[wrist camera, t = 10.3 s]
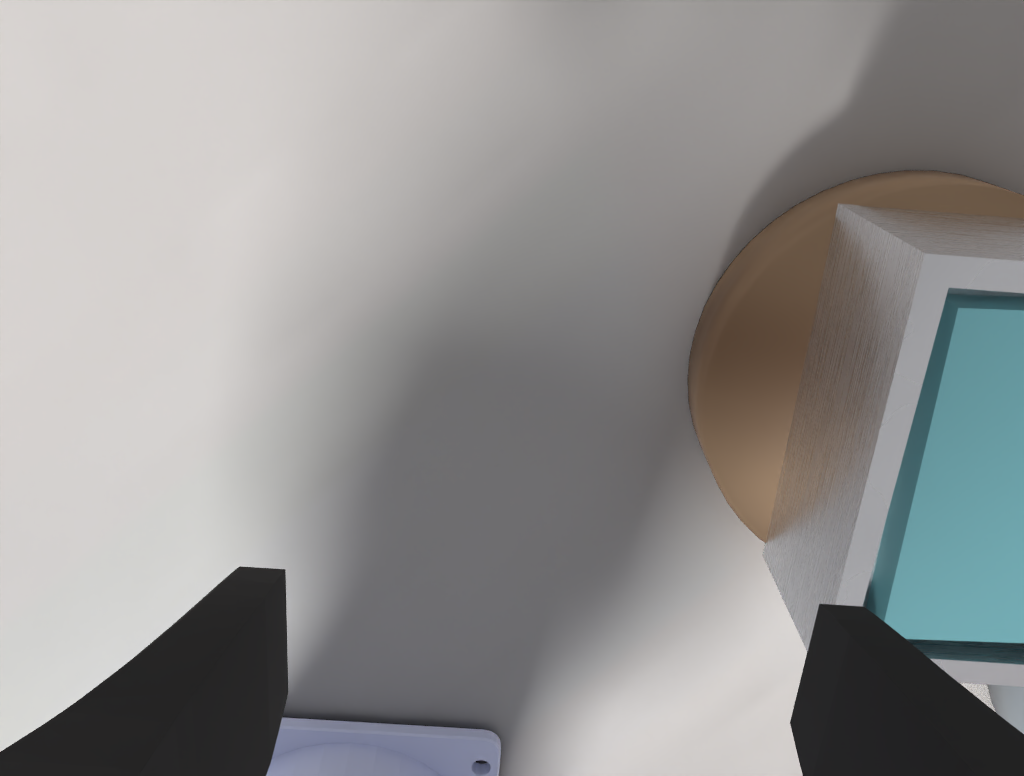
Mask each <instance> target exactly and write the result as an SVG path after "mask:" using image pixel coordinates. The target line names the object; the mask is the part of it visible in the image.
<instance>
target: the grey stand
mask: <svg viewBox="0 0 1024 776" xmlns="http://www.w3.org/2000/svg"><path fill="white" fill-rule="evenodd" d="M988 689H989V693H990V697H991V701H992V704H993V706H994V708H995V710H996V713H997V714H998V715H1000V716H1001V717H1002V718H1003V719H1005V720H1006V721H1007V722H1009V723H1010V724H1011V725H1013V726H1014V727H1015V728H1016V729H1018V730H1019V731H1020V732H1022V733H1023V734H1024V687H1018V686H1003V685H988Z"/></svg>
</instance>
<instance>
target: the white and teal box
mask: <svg viewBox="0 0 1024 776" xmlns="http://www.w3.org/2000/svg"><path fill="white" fill-rule="evenodd" d="M947 294H954V295H979V296H1005V297H1024V218H1013V217H1000V216H988V215H975V214H963V213H950V212H937V211H925V210H912V209H899V208H887V207H874V206H862V205H851V204H838V207H837V211H836V217H835V222H834V227H833V231H832V236H831V241H830V245H829V250H828V255H827V259H826V264H825V269H824V273H823V278H822V283H821V287H820V292H819V297H818V301H817V306H816V311H815V315H814V320H813V325H812V329H811V334H810V339H809V343H808V348H807V353H806V357H805V362H804V367H803V371H802V376H801V381H800V385H799V390H798V395H797V399H796V404H795V409H794V413H793V418H792V423H791V427H790V432H789V437H788V441H787V446H786V451H785V455H784V460H783V465H782V469H781V474H780V479H779V483H778V488H777V493H776V497H775V502H774V507H773V511H772V516H771V521H770V525H769V530H768V535H767V539H766V543H765V547H764V552H763V557H764V559H765V561H766V564H767V566H768V568H769V570H770V572H771V574H772V576H773V579H774V581H775V583H776V585H777V587H778V589H779V592H780V594H781V596H782V598H783V600H784V602H785V605H786V607H787V609H788V611H789V613H790V615H791V618H792V620H793V622H794V624H795V626H796V628H797V631H798V633H799V635H800V637H801V639H802V641H803V643H804V646H805V648H806V650H807V652H808V648H809V644H810V640H811V636H812V632H813V628H814V623H815V619H816V615H817V611H818V607H819V604H832V605H847V606H863V607H865V608H866V605H867V601H868V596H869V592H870V587H871V583H872V579H873V574H874V570H875V565H876V561H877V557H878V552H879V548H880V543H881V539H882V534H883V530H884V526H885V521H886V518H887V514H888V510H889V507H890V503H891V499H892V495H893V492H894V488H895V484H896V481H897V477H898V473H899V470H900V466H901V462H902V458H903V455H904V451H905V447H906V444H907V440H908V436H909V433H910V429H911V425H912V421H913V418H914V414H915V410H916V407H917V403H918V399H919V396H920V392H921V388H922V384H923V381H924V377H925V373H926V370H927V366H928V362H929V359H930V355H931V351H932V348H933V344H934V340H935V336H936V333H937V329H938V325H939V322H940V318H941V314H942V311H943V307H944V303H945V299H946V296H947ZM906 640H907V641H909V642H910V643H911V644H912V645H914V646H915V647H916V648H917V649H918V650H920V651H921V652H922V653H923V654H924V655H926V656H927V657H928V658H929V659H930V660H932V661H933V662H934V663H935V664H936V665H938V666H939V667H940V668H941V669H942V670H944V671H945V672H946V673H947V674H949V675H950V676H951V677H952V678H953V679H955V680H956V681H957V682H958V683H972V684H987V685H1003V686H1018V687H1024V643H1003V642H975V641H947V640H919V639H906Z"/></svg>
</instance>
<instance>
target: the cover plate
mask: <svg viewBox="0 0 1024 776" xmlns="http://www.w3.org/2000/svg"><path fill="white" fill-rule="evenodd" d="M866 608H867V609H868V610H869V611H871V612H872V613H874V614H875V615H876V616H878V617H879V618H880V619H881V620H883V621H884V622H885V623H887V624H888V625H889V626H890V627H892V628H893V629H894V630H895V631H897V632H898V633H899V634H900V635H901V636H903V637H904V638H905V639H919V640H947V641H975V642H1003V643H1024V297H1005V296H979V295H954V294H947V296H946V299H945V303H944V307H943V311H942V314H941V318H940V322H939V325H938V329H937V333H936V336H935V340H934V344H933V348H932V351H931V355H930V359H929V362H928V366H927V370H926V373H925V377H924V381H923V384H922V388H921V392H920V396H919V399H918V403H917V407H916V410H915V414H914V418H913V421H912V425H911V429H910V433H909V436H908V440H907V444H906V447H905V451H904V455H903V458H902V462H901V466H900V470H899V473H898V477H897V481H896V484H895V488H894V492H893V495H892V499H891V503H890V507H889V510H888V514H887V518H886V521H885V526H884V530H883V534H882V539H881V543H880V548H879V552H878V557H877V561H876V565H875V570H874V574H873V579H872V583H871V587H870V592H869V596H868V601H867V605H866Z"/></svg>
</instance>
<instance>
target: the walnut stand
mask: <svg viewBox="0 0 1024 776" xmlns="http://www.w3.org/2000/svg"><path fill="white" fill-rule="evenodd" d="M838 204H851V205H862V206H874V207H887V208H899V209H912V210H925V211H937V212H950V213H963V214H975V215H988V216H1000V217H1013V218H1024V195H1021V194H1018V193H1015V192H1012V191H1009V190H1007V189H1004V188H1001V187H998V186H995V185H992V184H989V183H987V182H983V181H980V180H977V179H973V178H970V177H967V176H963V175H959V174H952V173H945V172H939V171H907V170H906V171H897V172H889V173H881V174H875V175H871V176H867V177H863V178H859V179H855V180H851V181H848V182H845V183H843V184H840V185H838V186H835V187H832V188H830V189H827V190H825V191H822V192H820V193H818V194H816V195H815V196H813V197H811V198H809V199H807V200H805V201H803V202H801V203H799V204H798V205H796V206H794V207H793V208H792V209H790V210H789V211H787V212H786V213H784V214H783V215H781V216H780V217H778V218H777V219H776V220H774V221H773V222H772V223H770V224H769V225H768V226H767V227H766V228H765V229H764V230H762V231H761V232H760V233H759V234H758V235H757V236H756V237H755V238H753V239H752V240H751V241H750V242H749V243H748V245H747V246H746V247H745V248H744V249H743V250H742V251H741V252H740V253H739V255H738V256H737V257H736V258H735V259H734V260H733V261H732V263H731V264H730V266H729V267H728V268H727V270H726V271H725V273H724V274H723V276H722V277H721V278H720V280H719V281H718V283H717V284H716V286H715V288H714V290H713V292H712V294H711V296H710V298H709V299H708V301H707V303H706V305H705V307H704V310H703V312H702V315H701V318H700V320H699V323H698V326H697V328H696V331H695V335H694V339H693V344H692V348H691V352H690V358H689V369H688V397H689V407H690V412H691V417H692V422H693V426H694V429H695V432H696V434H697V437H698V440H699V443H700V445H701V448H702V450H703V452H704V455H705V457H706V459H707V462H708V464H709V466H710V468H711V471H712V473H713V475H714V478H715V480H716V482H717V484H718V486H719V488H720V490H721V491H722V493H723V495H724V497H725V499H726V501H727V503H728V504H729V505H730V507H731V508H732V509H733V511H734V512H735V513H736V515H737V516H738V517H739V519H740V520H741V521H742V522H743V523H744V524H745V525H746V526H747V527H748V528H749V529H750V530H751V531H752V532H753V533H754V534H755V535H756V536H757V537H758V538H759V539H761V540H762V541H764V542H765V543H766V539H767V535H768V530H769V525H770V521H771V516H772V511H773V507H774V502H775V497H776V493H777V488H778V483H779V479H780V474H781V469H782V465H783V460H784V455H785V451H786V446H787V441H788V437H789V432H790V427H791V423H792V418H793V413H794V409H795V404H796V399H797V395H798V390H799V385H800V381H801V376H802V371H803V367H804V362H805V357H806V353H807V348H808V343H809V339H810V334H811V329H812V325H813V320H814V315H815V311H816V306H817V301H818V297H819V292H820V287H821V283H822V278H823V273H824V269H825V264H826V259H827V255H828V250H829V245H830V241H831V236H832V231H833V227H834V222H835V217H836V211H837V207H838Z"/></svg>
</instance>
